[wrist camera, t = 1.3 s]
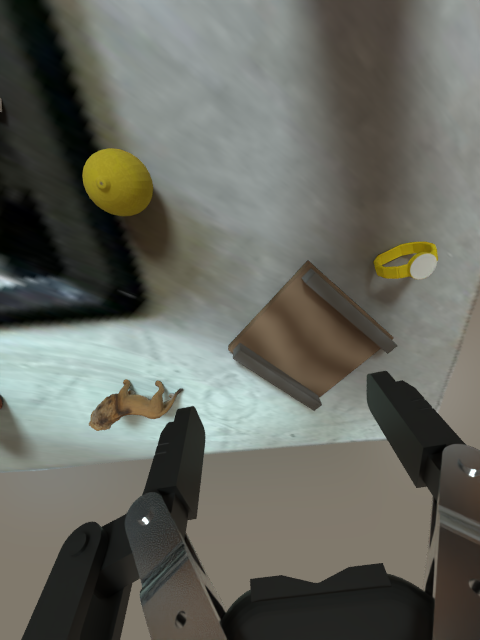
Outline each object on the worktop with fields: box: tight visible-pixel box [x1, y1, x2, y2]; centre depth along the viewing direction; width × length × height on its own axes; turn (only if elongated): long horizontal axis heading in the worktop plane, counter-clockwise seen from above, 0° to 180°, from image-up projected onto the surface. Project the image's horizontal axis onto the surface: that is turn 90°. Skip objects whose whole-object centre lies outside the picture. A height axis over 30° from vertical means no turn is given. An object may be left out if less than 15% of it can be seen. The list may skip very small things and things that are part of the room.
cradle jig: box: [228, 261, 397, 411], centre depth 35 cm, size 16×17×3 cm
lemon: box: [83, 148, 153, 216], centre depth 24 cm, size 6×6×8 cm
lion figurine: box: [89, 380, 183, 431], centre depth 37 cm, size 12×4×7 cm, turn 92°
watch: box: [374, 242, 438, 279], centre depth 29 cm, size 6×3×6 cm, turn 116°
